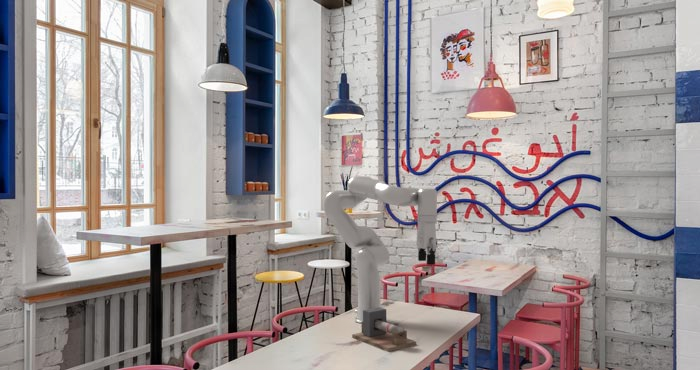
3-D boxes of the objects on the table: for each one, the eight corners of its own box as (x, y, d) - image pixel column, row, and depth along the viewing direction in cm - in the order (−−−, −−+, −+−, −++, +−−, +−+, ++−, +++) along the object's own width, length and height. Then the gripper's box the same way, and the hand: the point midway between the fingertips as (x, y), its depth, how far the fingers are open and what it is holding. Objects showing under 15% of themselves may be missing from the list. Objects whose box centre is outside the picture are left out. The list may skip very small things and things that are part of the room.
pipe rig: (352, 337, 188) (352, 318, 188) (379, 331, 195) (379, 313, 195) (388, 351, 171) (387, 330, 171) (416, 344, 178) (415, 324, 178)
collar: (363, 334, 186) (362, 310, 187) (379, 330, 191) (379, 307, 191) (369, 336, 183) (369, 312, 183) (386, 333, 188) (386, 309, 188)
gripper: (410, 218, 206) (410, 259, 206) (425, 221, 189) (425, 266, 189) (428, 218, 207) (427, 259, 207) (444, 221, 190) (443, 266, 190)
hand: (426, 262), depth 198 cm, fingers open, 9 cm apart
